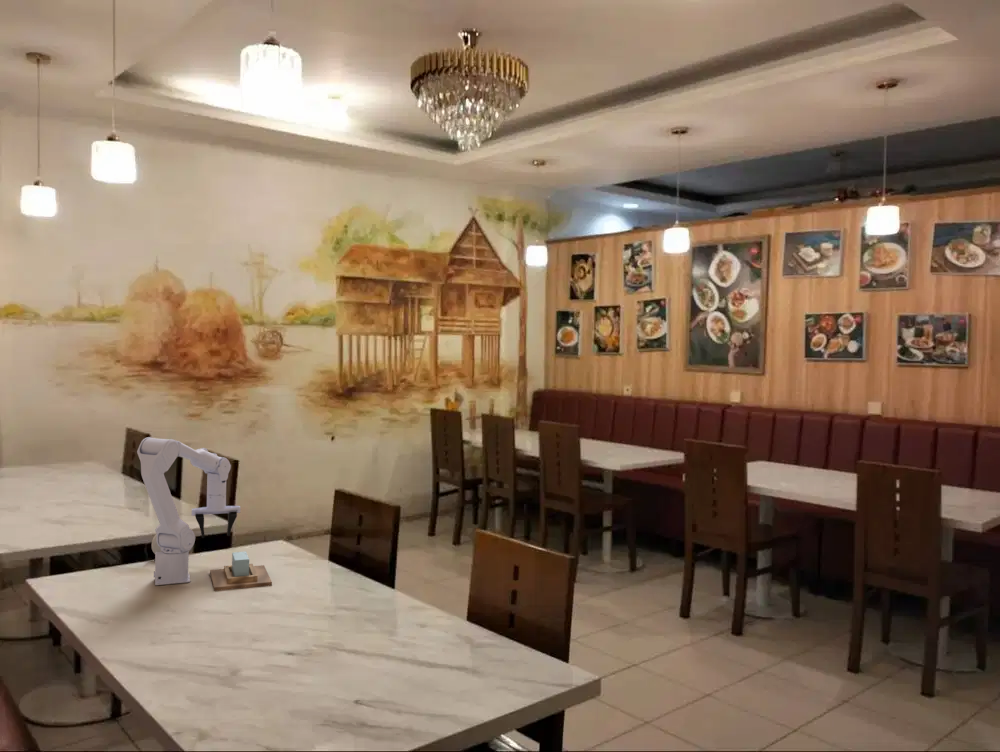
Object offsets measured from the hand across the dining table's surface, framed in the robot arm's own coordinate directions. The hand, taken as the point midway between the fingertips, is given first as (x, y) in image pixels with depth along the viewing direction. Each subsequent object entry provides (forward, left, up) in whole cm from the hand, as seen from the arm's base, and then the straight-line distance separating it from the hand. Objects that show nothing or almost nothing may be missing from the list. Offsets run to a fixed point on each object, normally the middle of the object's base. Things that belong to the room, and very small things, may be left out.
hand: (215, 536), depth 239 cm
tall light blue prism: (+6, -17, -8) cm, 20 cm away
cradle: (+6, -17, -9) cm, 20 cm away
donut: (-14, +14, -10) cm, 22 cm away
